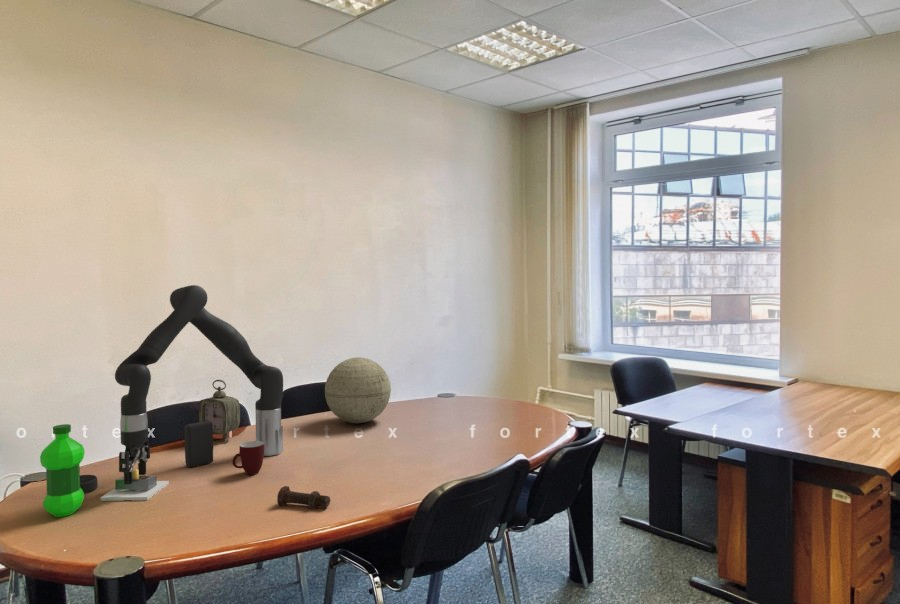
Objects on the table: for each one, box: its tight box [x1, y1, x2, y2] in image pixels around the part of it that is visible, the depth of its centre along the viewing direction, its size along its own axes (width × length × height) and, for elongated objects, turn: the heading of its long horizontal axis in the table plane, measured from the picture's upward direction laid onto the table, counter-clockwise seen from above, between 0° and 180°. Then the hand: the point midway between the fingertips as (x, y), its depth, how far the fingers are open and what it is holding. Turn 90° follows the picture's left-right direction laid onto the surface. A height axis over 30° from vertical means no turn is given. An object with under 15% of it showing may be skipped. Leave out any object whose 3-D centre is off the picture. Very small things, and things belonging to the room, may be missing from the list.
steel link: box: [114, 475, 158, 490], centre depth 184 cm, size 10×6×3 cm, turn 91°
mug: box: [231, 440, 265, 476], centre depth 200 cm, size 11×8×10 cm
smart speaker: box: [80, 474, 99, 495], centre depth 185 cm, size 9×9×4 cm
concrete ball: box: [324, 356, 392, 424], centre depth 270 cm, size 30×30×30 cm
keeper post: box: [99, 468, 170, 502], centre depth 183 cm, size 14×14×7 cm
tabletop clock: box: [198, 379, 241, 444], centre depth 242 cm, size 14×9×25 cm, turn 68°
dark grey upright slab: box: [183, 421, 214, 468], centre depth 210 cm, size 9×4×15 cm, turn 134°
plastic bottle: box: [39, 423, 85, 518], centre depth 167 cm, size 10×10×25 cm
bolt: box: [276, 485, 331, 510], centre depth 172 cm, size 6×5×15 cm
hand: (135, 479), depth 183 cm, fingers open, 8 cm apart
